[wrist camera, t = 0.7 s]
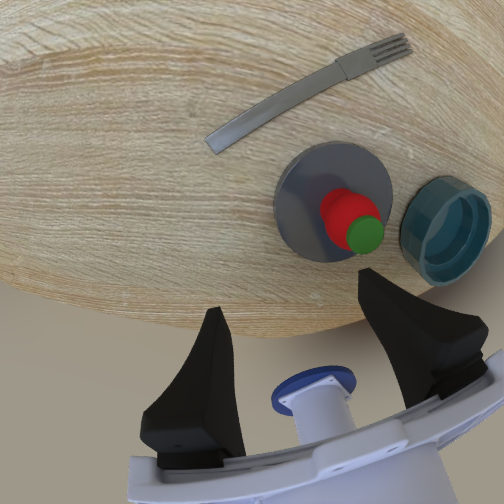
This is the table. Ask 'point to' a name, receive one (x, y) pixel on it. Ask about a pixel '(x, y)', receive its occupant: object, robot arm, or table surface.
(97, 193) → the table surface
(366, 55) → the fork
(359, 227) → the strawberry
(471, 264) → the bowl
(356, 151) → the plate
